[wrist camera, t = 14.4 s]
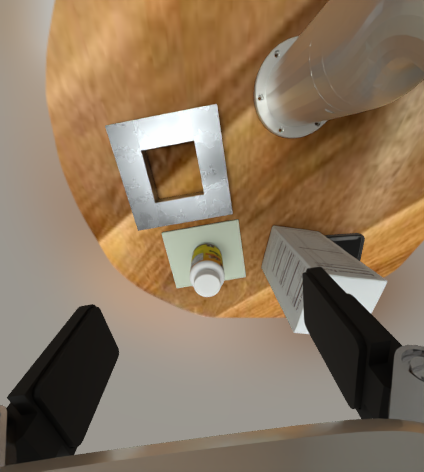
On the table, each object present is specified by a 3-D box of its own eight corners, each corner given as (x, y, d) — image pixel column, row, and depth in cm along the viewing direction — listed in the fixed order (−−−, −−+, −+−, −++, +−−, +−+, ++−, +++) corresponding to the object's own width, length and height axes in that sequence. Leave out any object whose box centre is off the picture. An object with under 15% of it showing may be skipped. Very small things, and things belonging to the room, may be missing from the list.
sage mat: (237, 219, 40) (238, 219, 40) (245, 275, 44) (245, 276, 44) (162, 232, 41) (161, 233, 40) (177, 286, 45) (176, 288, 44)
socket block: (215, 107, 33) (216, 104, 31) (230, 209, 39) (232, 214, 37) (113, 127, 34) (104, 125, 31) (142, 224, 40) (138, 230, 37)
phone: (284, 239, 41) (365, 234, 41) (282, 237, 42) (361, 232, 42) (282, 276, 44) (358, 271, 44) (280, 273, 45) (354, 268, 45)
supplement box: (260, 268, 44) (290, 334, 28) (271, 224, 41) (312, 272, 25) (306, 273, 45) (360, 341, 29) (321, 231, 41) (391, 281, 26)
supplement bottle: (227, 258, 42) (233, 290, 33) (203, 272, 43) (202, 308, 34) (210, 235, 41) (212, 262, 31) (186, 251, 42) (180, 282, 32)
